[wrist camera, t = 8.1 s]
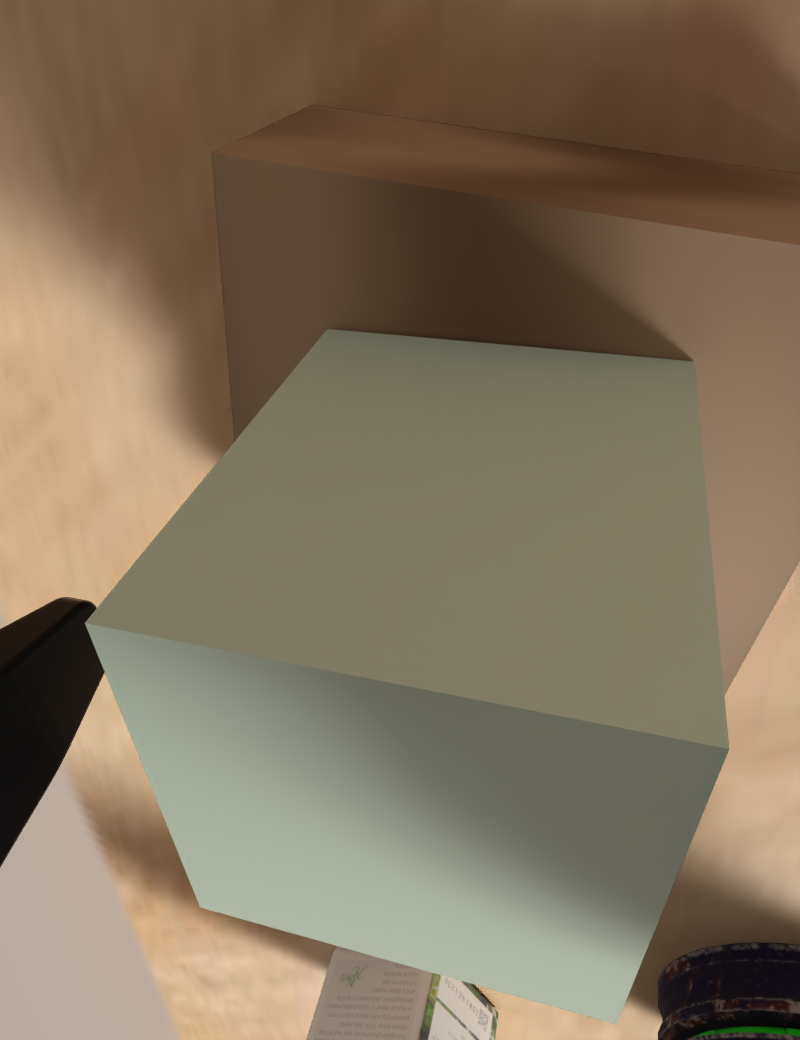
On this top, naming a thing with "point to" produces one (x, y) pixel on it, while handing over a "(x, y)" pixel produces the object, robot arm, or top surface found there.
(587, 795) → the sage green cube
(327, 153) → the block
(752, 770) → the top surface
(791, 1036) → the storage jar
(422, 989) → the syrup box
